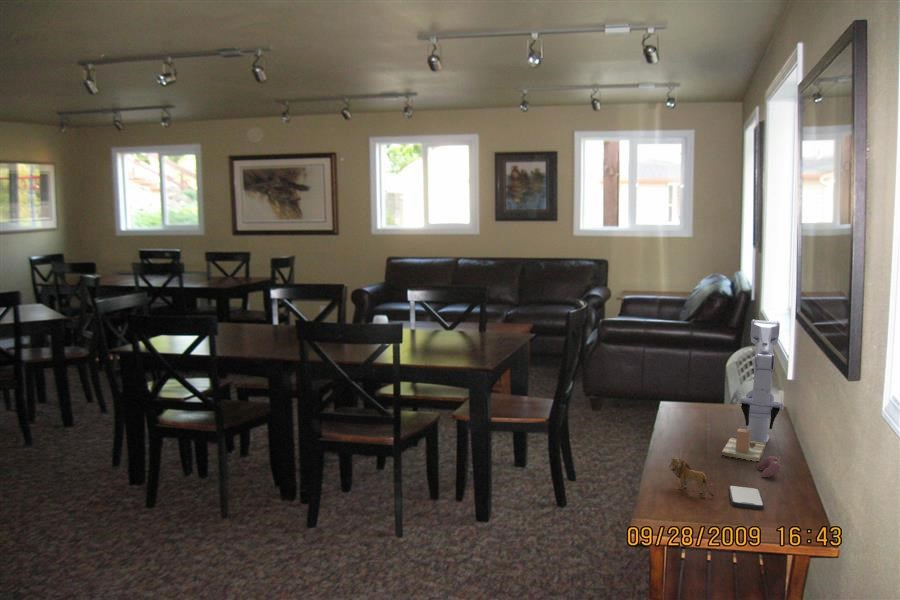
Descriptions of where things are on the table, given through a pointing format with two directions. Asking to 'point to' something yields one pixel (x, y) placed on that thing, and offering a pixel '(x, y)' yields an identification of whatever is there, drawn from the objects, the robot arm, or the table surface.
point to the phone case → (746, 497)
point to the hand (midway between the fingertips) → (758, 426)
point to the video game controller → (769, 466)
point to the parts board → (752, 455)
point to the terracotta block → (743, 440)
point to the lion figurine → (689, 475)
